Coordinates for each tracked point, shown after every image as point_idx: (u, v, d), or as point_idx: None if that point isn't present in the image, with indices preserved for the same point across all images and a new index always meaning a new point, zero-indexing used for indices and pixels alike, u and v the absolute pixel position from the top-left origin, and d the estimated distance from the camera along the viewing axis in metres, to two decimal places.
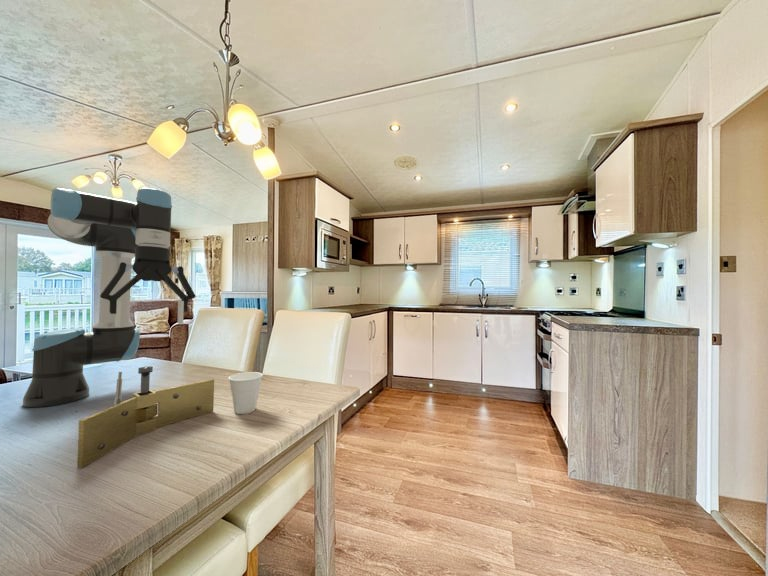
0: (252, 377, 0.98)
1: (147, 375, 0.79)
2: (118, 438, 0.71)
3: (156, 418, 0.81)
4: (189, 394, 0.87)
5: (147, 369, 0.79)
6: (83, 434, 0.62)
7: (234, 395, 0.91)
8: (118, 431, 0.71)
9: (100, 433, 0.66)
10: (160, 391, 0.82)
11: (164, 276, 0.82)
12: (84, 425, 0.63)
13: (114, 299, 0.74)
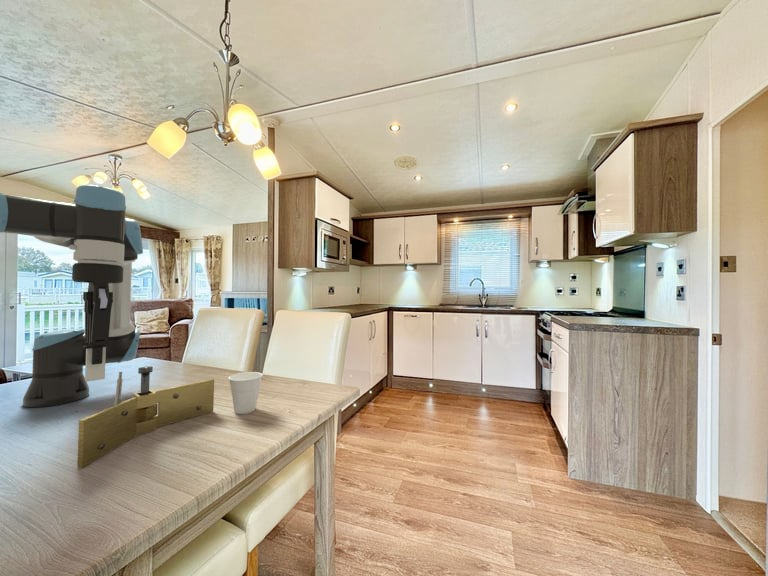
0: (252, 377, 0.98)
1: (147, 375, 0.79)
2: (118, 438, 0.71)
3: (156, 418, 0.81)
4: (189, 394, 0.87)
5: (147, 369, 0.79)
6: (83, 434, 0.62)
7: (234, 395, 0.91)
8: (118, 431, 0.71)
9: (100, 433, 0.66)
10: (160, 391, 0.82)
11: (86, 304, 0.59)
12: (84, 425, 0.63)
13: (86, 344, 0.60)
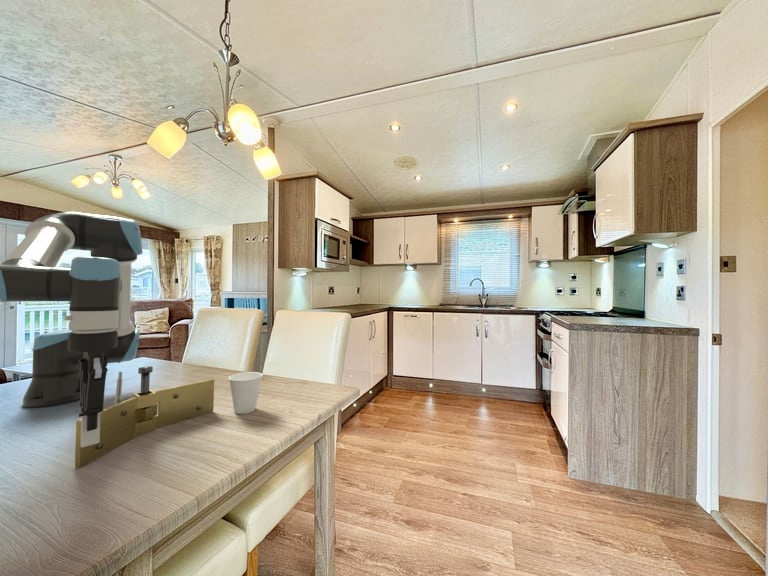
0: (252, 377, 0.98)
1: (147, 375, 0.79)
2: (117, 438, 0.71)
3: (156, 418, 0.81)
4: (189, 394, 0.87)
5: (147, 369, 0.79)
6: (80, 434, 0.62)
7: (234, 395, 0.91)
8: (117, 431, 0.71)
9: None
10: (160, 391, 0.82)
11: (82, 373, 0.60)
12: None
13: (81, 410, 0.62)
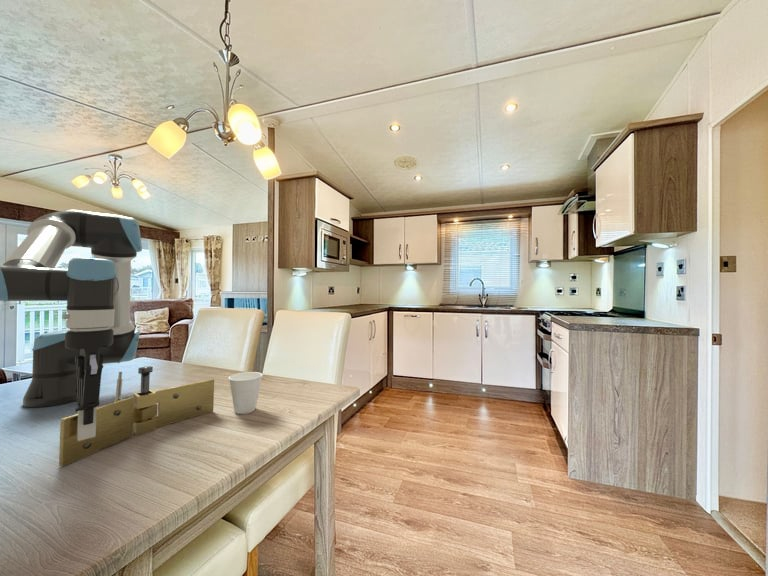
0: (252, 377, 0.98)
1: (147, 375, 0.79)
2: (110, 438, 0.71)
3: (156, 418, 0.81)
4: (189, 394, 0.87)
5: (147, 369, 0.79)
6: (64, 433, 0.63)
7: (234, 395, 0.91)
8: (109, 430, 0.71)
9: None
10: (160, 391, 0.82)
11: (78, 369, 0.63)
12: (65, 424, 0.63)
13: (78, 405, 0.64)
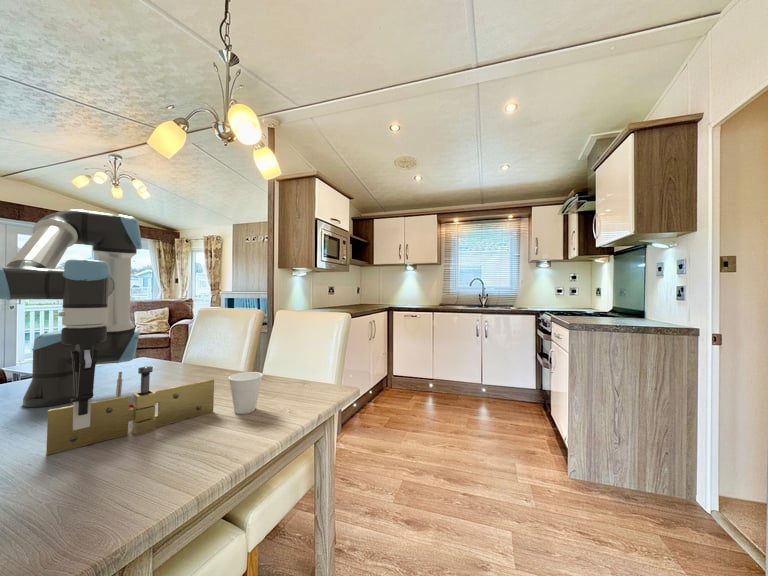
0: (252, 377, 0.98)
1: (147, 375, 0.79)
2: (100, 434, 0.73)
3: (156, 418, 0.81)
4: (189, 394, 0.87)
5: (147, 369, 0.79)
6: (48, 424, 0.67)
7: (234, 395, 0.91)
8: (99, 426, 0.73)
9: (72, 425, 0.70)
10: (160, 391, 0.82)
11: (74, 363, 0.67)
12: (49, 415, 0.67)
13: (73, 397, 0.69)
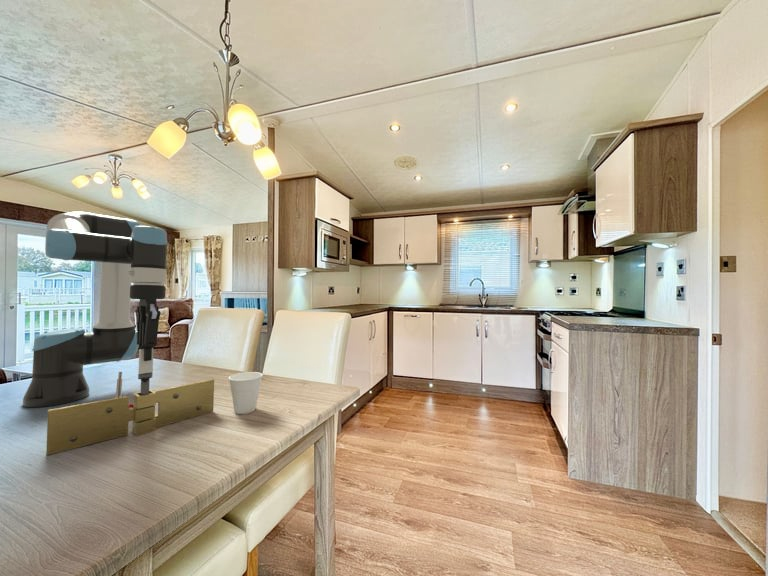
0: (252, 377, 0.98)
1: (147, 380, 0.79)
2: (100, 434, 0.73)
3: (156, 418, 0.81)
4: (189, 394, 0.87)
5: (147, 375, 0.79)
6: (48, 424, 0.67)
7: (234, 395, 0.91)
8: (99, 426, 0.73)
9: (72, 425, 0.70)
10: (160, 391, 0.82)
11: (140, 315, 0.78)
12: (49, 415, 0.67)
13: (139, 346, 0.79)
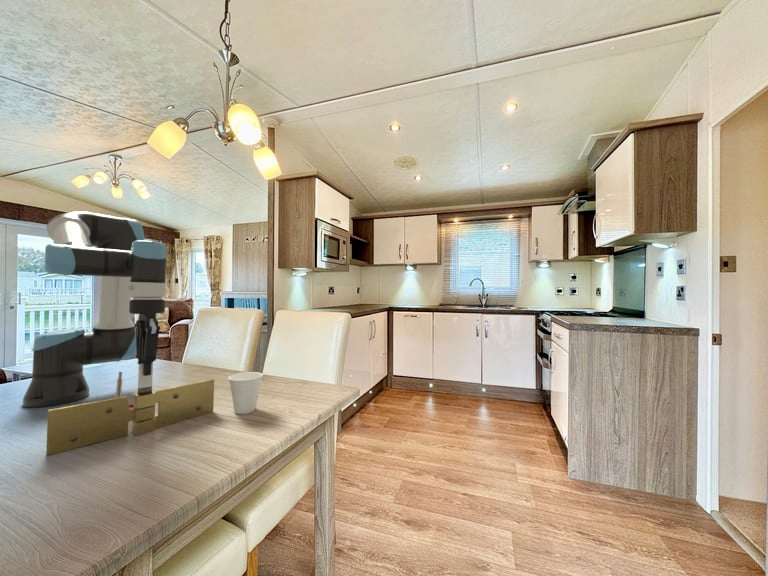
0: (252, 377, 0.98)
1: None
2: (100, 434, 0.73)
3: (156, 418, 0.81)
4: (189, 394, 0.87)
5: (146, 389, 0.79)
6: (48, 424, 0.67)
7: (234, 395, 0.91)
8: (99, 426, 0.73)
9: (72, 425, 0.70)
10: (160, 391, 0.82)
11: (140, 330, 0.78)
12: (49, 415, 0.67)
13: (138, 360, 0.79)
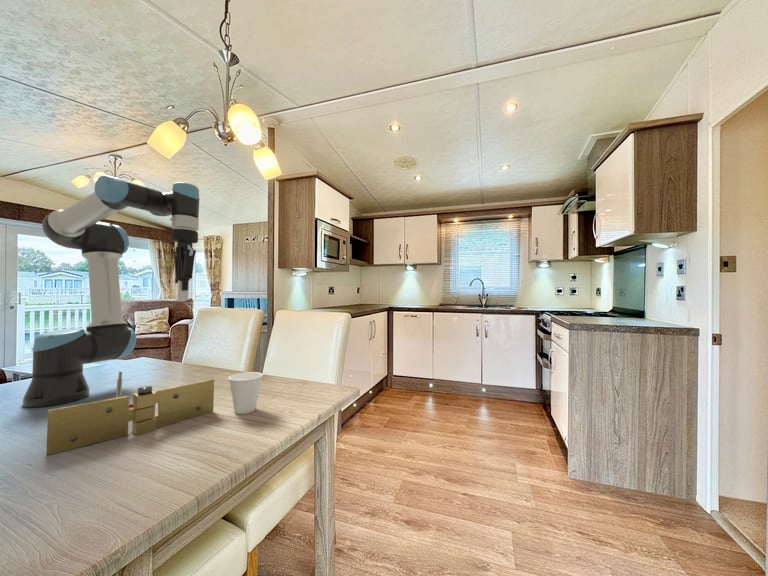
0: (252, 377, 0.98)
1: None
2: (100, 434, 0.73)
3: (156, 418, 0.81)
4: (189, 394, 0.87)
5: (146, 389, 0.79)
6: (48, 424, 0.67)
7: (234, 395, 0.91)
8: (99, 426, 0.73)
9: (72, 425, 0.70)
10: (160, 391, 0.82)
11: (179, 254, 0.98)
12: (49, 415, 0.67)
13: (177, 279, 0.99)
